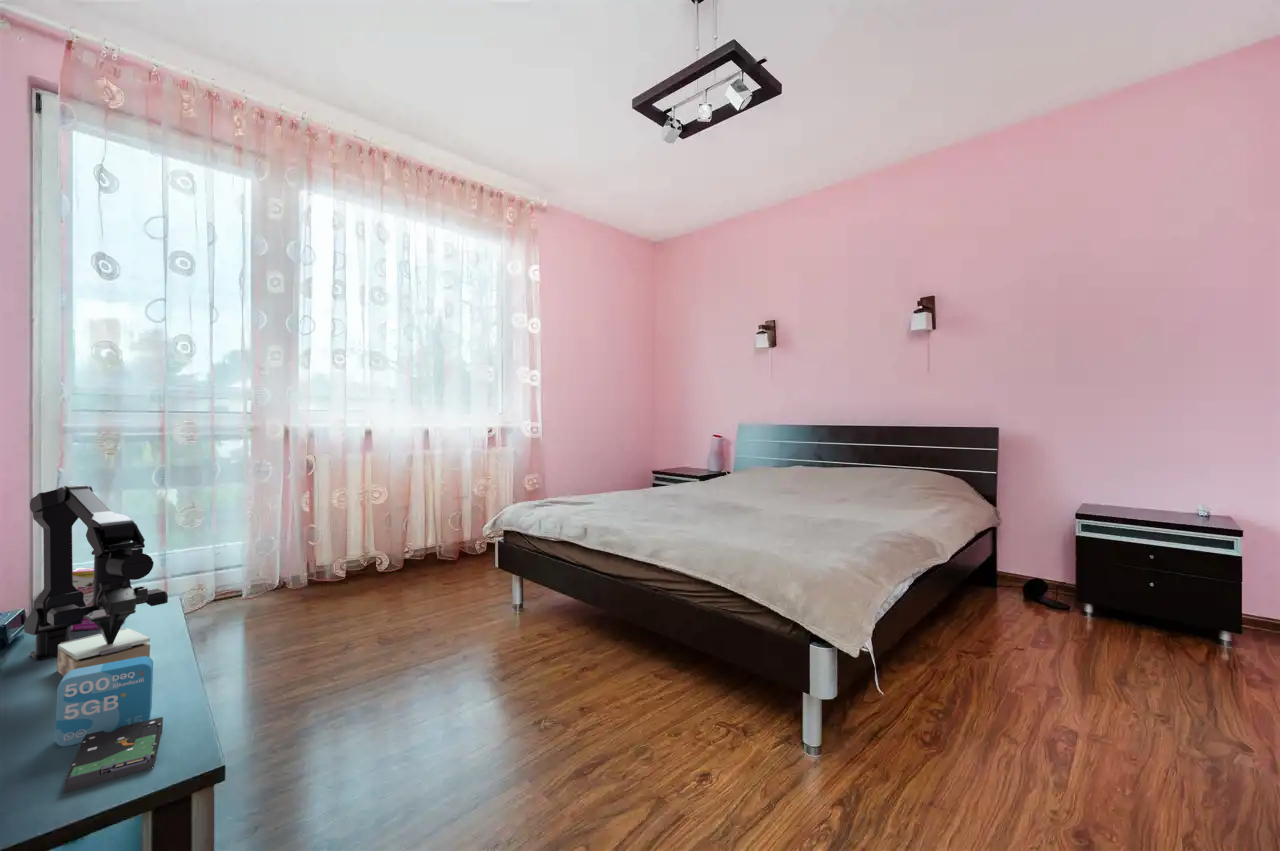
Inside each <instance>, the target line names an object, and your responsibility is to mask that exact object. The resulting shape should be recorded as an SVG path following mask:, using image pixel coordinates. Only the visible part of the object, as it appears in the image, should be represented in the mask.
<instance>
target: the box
mask: <svg viewBox="0 0 1280 851" xmlns="http://www.w3.org/2000/svg"><path fill="white" fill-rule="evenodd" d="M142 656H146V657H150V656H151V644H149V642H146V643H142V644H138V645H134V646H132V647H131V648H128V649H124V650H120V651H116V652H112V653H108V654H104V655H100V654H98V655H94V656H90V657H86V658H82V659H78V660H76V659H74V658H73V657H71V656H70V655H68V654H66V653H65V652H63V651H61V650H60V649H58V656H57V664H56V671H57V672H58V673H59V674H61V675H62V677H64V676H65V674H66V673H68V672H69V671H71V670H74V669H78V668H83V667H89V666H94V665H99V664H105V663H110V662H115V661H121V660H126V659H131V658H137V657H142ZM150 658H151V657H150Z"/></svg>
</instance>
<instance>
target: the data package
mask: <svg viewBox="0 0 1280 851" xmlns="http://www.w3.org/2000/svg"><path fill="white" fill-rule="evenodd" d="M153 675H154V660H153V659H152V657H146V656H142V657H137V658H131V659H126V660H121V661H115V662H110V663H105V664H99V665H94V666H89V667H83V668H78V669H74V670H71V671H69V672H68V673H66V674H65V676H62V679H61V680H60V682H59V684H58V686H57V688H56V689H57V690H56V714H55V716H56V717H55V743H56V745H58V746H59V747H71V746H75V745H79V744H81V743H82V741H83V738H84V737H85V735H87V734H91V733H95V732H100V731H104V732H112V731H114V730H116V729H117V728H119V727H121V726H125V725H130V724H134V723H139V722H143V721H148V720H151V719H150V718H151V714H152V708H153V684H154V683H153V680H154V679H153V677H154V676H153Z"/></svg>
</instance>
